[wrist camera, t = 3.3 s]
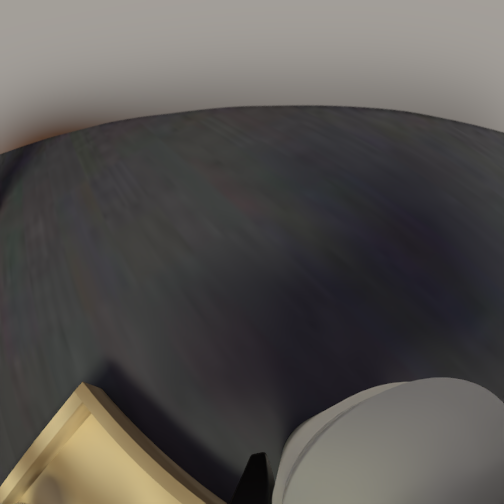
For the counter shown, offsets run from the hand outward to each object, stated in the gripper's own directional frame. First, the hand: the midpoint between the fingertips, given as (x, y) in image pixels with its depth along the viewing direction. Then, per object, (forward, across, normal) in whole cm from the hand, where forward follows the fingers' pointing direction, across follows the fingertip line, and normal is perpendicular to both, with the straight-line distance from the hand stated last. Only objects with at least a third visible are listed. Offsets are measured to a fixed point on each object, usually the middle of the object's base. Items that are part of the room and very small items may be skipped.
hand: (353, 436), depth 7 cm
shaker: (+4, 0, +6) cm, 7 cm away
